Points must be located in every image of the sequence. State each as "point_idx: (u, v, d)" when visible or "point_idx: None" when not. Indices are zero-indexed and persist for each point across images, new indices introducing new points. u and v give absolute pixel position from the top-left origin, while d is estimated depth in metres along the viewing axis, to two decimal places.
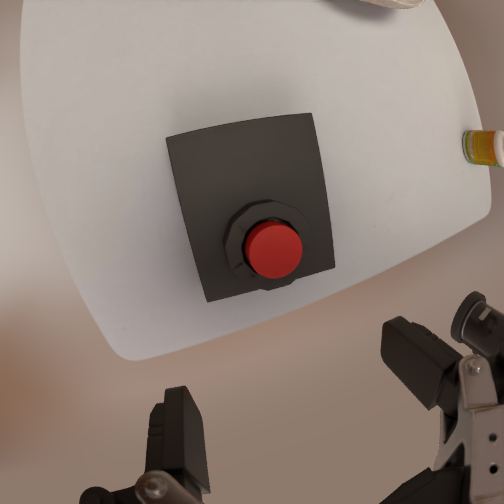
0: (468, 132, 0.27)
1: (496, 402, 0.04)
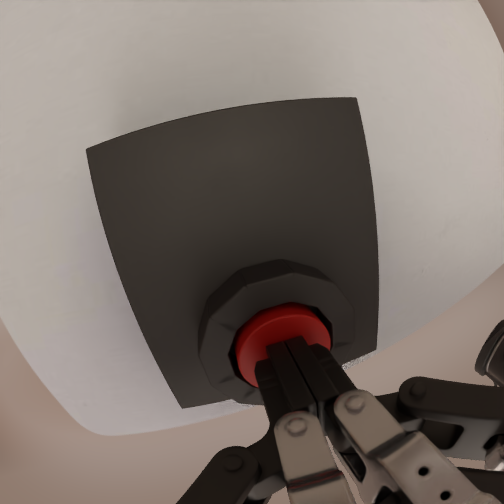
0: None
1: (403, 430, 0.05)
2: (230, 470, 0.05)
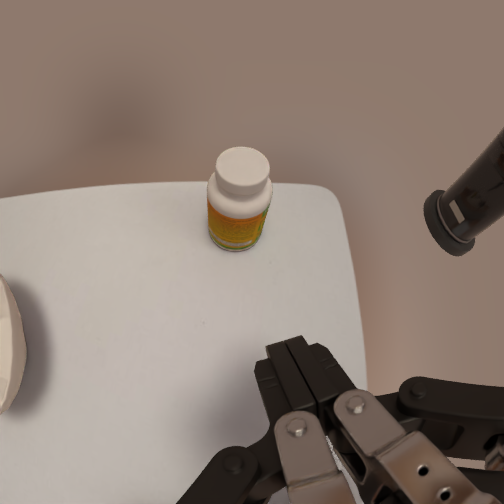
0: (210, 234, 0.26)
1: (403, 430, 0.05)
2: (231, 470, 0.05)
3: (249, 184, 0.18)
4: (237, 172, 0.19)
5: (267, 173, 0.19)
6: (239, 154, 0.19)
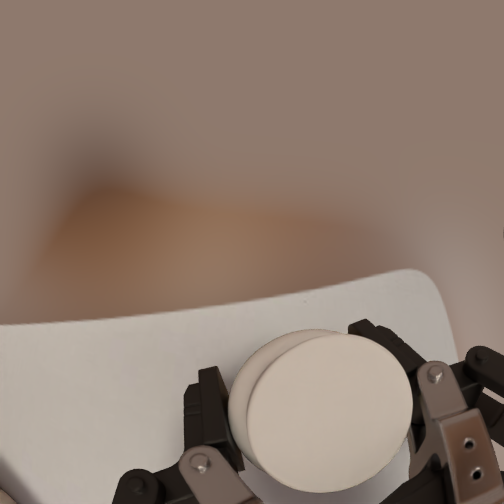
0: None
1: (466, 406, 0.04)
2: (136, 491, 0.04)
3: (365, 479, 0.04)
4: (326, 454, 0.04)
5: (409, 421, 0.05)
6: (320, 376, 0.05)
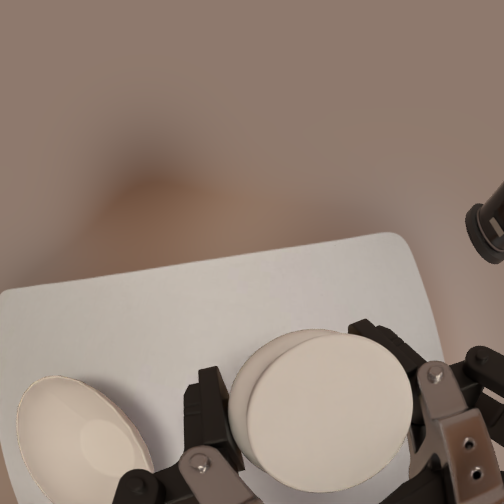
0: None
1: (465, 406, 0.04)
2: (136, 491, 0.04)
3: (365, 479, 0.04)
4: (326, 454, 0.04)
5: (409, 421, 0.05)
6: (320, 375, 0.05)
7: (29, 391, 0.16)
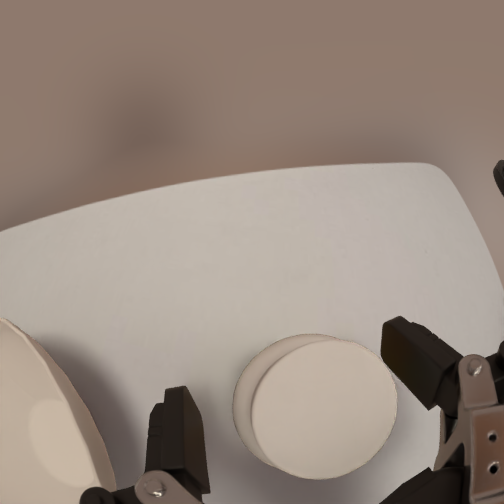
0: None
1: (496, 402, 0.04)
2: None
3: (355, 467, 0.05)
4: (320, 444, 0.05)
5: (394, 417, 0.05)
6: (315, 376, 0.06)
7: None
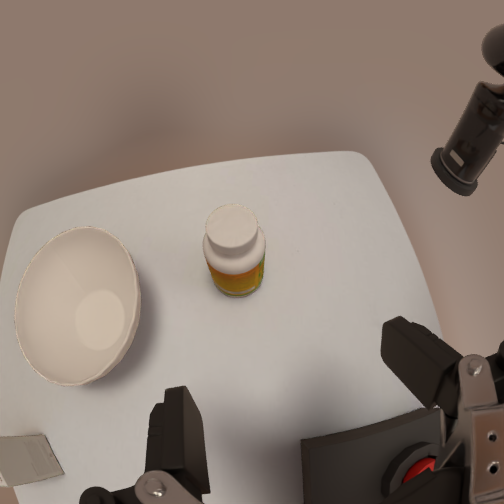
0: (215, 284, 0.28)
1: (496, 402, 0.04)
2: None
3: (240, 244, 0.20)
4: (227, 234, 0.20)
5: (255, 229, 0.20)
6: (227, 213, 0.21)
7: (41, 250, 0.23)
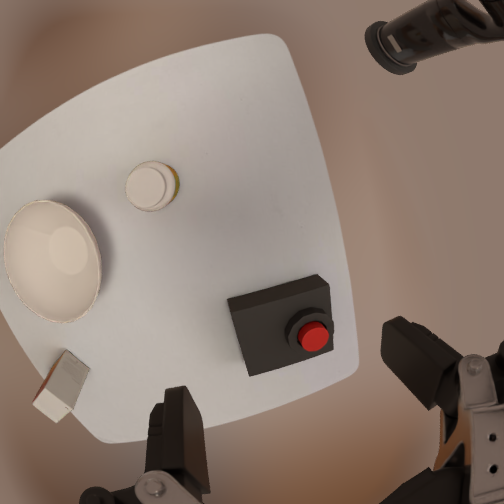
0: None
1: (496, 402, 0.04)
2: None
3: (154, 204, 0.24)
4: (143, 197, 0.24)
5: (164, 188, 0.24)
6: (139, 178, 0.23)
7: (7, 234, 0.23)
